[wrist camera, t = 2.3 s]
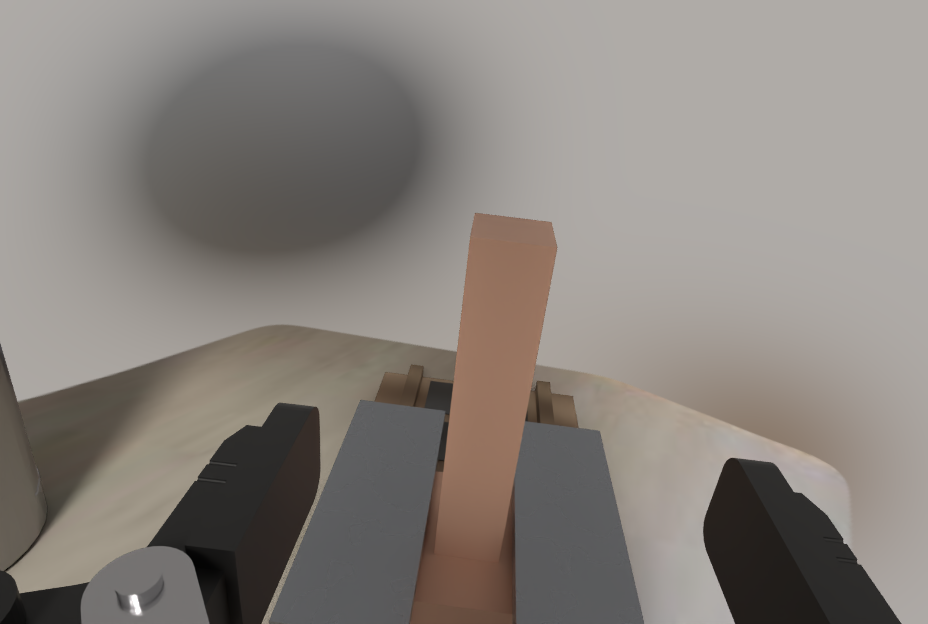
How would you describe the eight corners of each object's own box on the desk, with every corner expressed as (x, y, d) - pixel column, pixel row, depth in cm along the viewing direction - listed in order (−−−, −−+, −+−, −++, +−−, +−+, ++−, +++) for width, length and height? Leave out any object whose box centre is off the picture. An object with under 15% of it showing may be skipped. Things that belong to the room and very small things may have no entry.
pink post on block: (544, 664, 25) (646, 285, 17) (366, 640, 25) (383, 252, 17) (536, 525, 32) (605, 212, 24) (397, 507, 32) (420, 189, 24)
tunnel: (623, 752, 22) (655, 674, 20) (274, 702, 23) (269, 621, 20) (582, 495, 35) (599, 430, 33) (358, 466, 35) (360, 399, 33)
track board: (717, 1328, 13) (752, 1314, 12) (83, 1226, 13) (61, 1205, 12) (569, 411, 46) (575, 385, 44) (384, 387, 46) (385, 361, 45)
